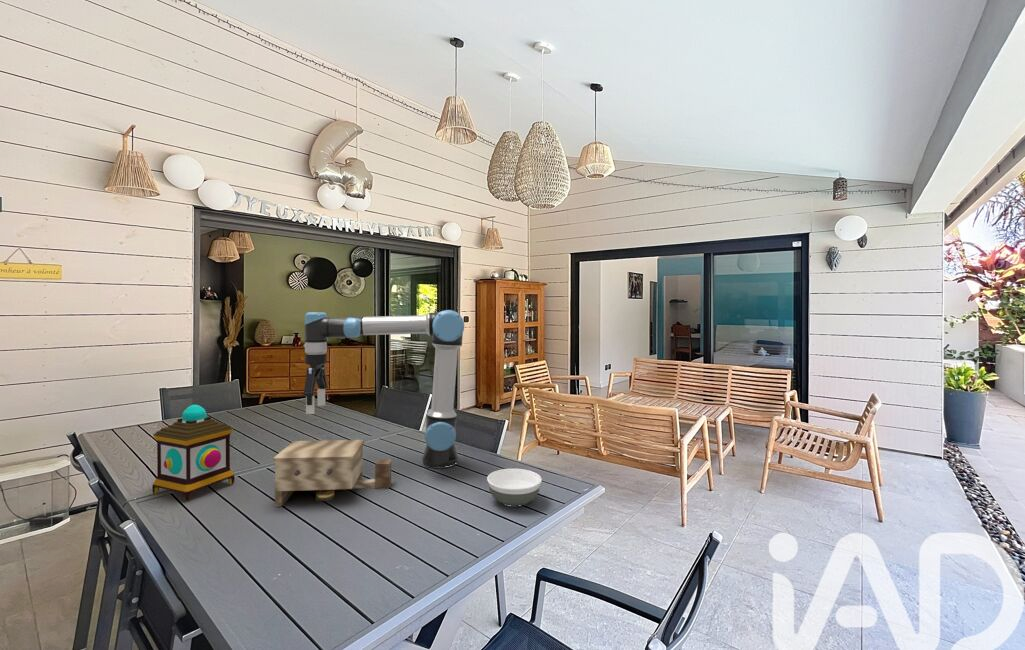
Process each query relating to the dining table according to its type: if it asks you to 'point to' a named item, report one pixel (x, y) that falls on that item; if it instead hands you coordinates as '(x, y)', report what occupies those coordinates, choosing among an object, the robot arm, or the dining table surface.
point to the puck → (325, 495)
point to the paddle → (378, 476)
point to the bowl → (514, 486)
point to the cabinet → (317, 466)
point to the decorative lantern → (192, 453)
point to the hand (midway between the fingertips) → (316, 409)
